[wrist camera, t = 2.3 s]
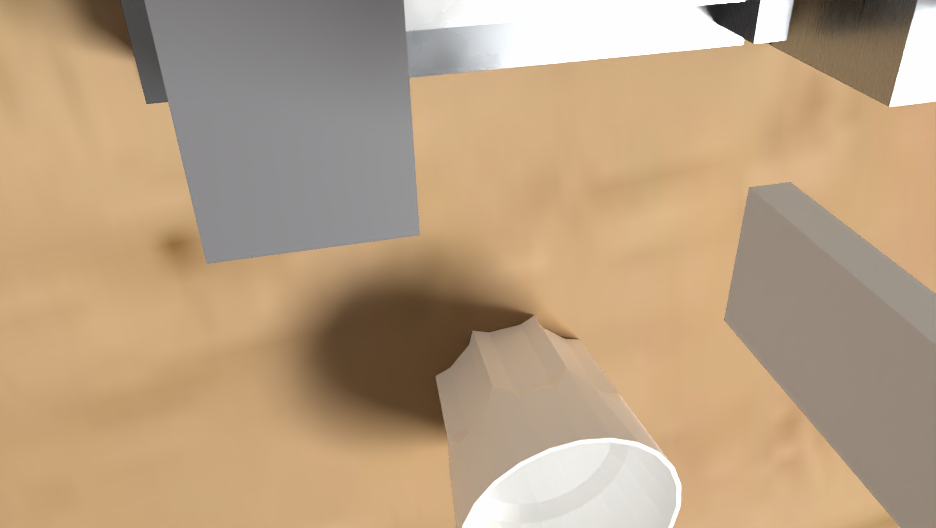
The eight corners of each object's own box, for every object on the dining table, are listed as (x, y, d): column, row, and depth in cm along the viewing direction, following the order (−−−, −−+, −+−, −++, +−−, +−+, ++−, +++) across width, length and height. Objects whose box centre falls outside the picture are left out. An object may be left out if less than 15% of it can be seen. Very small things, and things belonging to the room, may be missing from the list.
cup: (603, 424, 46) (679, 566, 37) (435, 469, 45) (475, 625, 36) (595, 283, 40) (682, 412, 32) (404, 329, 39) (443, 476, 31)
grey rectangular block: (225, 89, 30) (206, 264, 19) (190, -90, 26) (144, -1, 16) (363, 75, 31) (419, 235, 20) (345, -100, 27) (402, -21, 17)
